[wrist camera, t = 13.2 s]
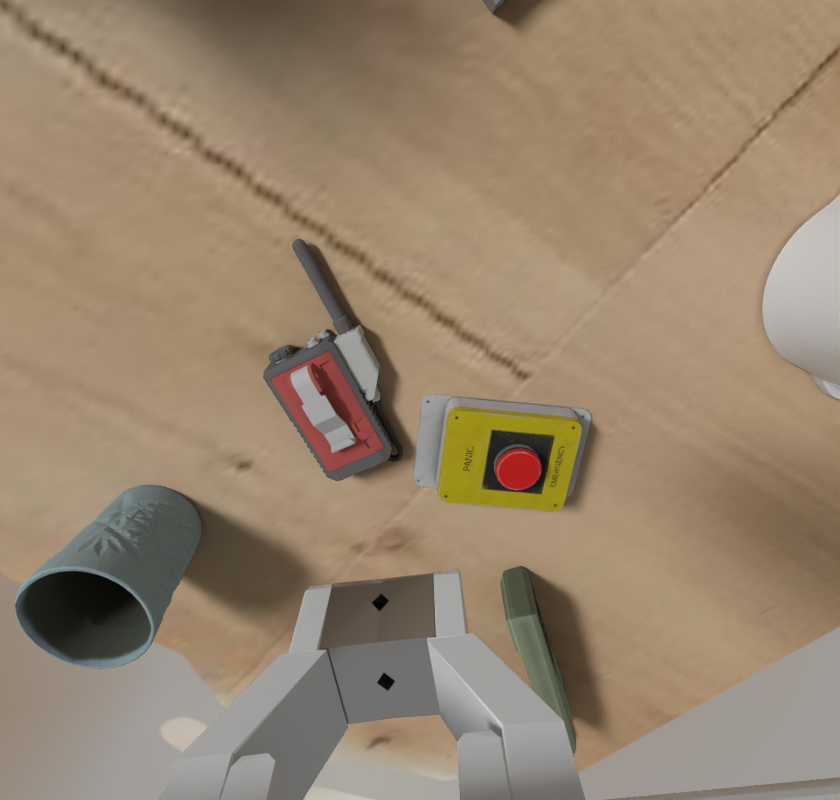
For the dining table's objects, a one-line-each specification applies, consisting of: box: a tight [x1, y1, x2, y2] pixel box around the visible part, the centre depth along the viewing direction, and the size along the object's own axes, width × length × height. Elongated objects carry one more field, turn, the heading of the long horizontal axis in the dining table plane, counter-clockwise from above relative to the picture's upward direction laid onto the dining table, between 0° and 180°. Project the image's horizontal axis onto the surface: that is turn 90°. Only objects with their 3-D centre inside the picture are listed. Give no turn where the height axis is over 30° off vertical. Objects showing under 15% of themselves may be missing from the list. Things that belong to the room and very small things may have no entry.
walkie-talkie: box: [263, 239, 403, 481], centre depth 43 cm, size 9×4×20 cm
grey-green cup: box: [15, 485, 202, 669], centre depth 45 cm, size 10×10×12 cm
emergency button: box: [413, 394, 591, 511], centre depth 46 cm, size 9×4×15 cm
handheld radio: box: [501, 566, 576, 757], centre depth 55 cm, size 7×3×25 cm
